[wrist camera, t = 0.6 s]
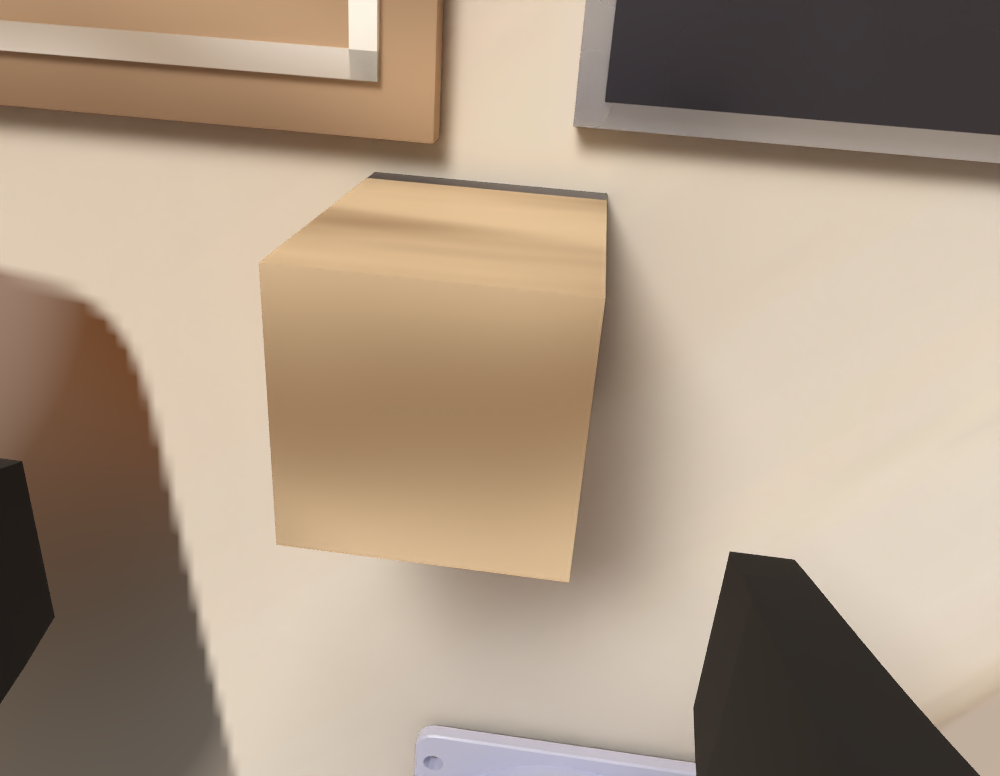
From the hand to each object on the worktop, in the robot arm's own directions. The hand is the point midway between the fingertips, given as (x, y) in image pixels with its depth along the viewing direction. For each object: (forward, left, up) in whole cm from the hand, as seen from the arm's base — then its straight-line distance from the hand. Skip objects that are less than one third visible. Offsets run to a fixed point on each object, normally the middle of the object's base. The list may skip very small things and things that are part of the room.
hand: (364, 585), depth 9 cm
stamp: (0, 0, -9) cm, 9 cm away
